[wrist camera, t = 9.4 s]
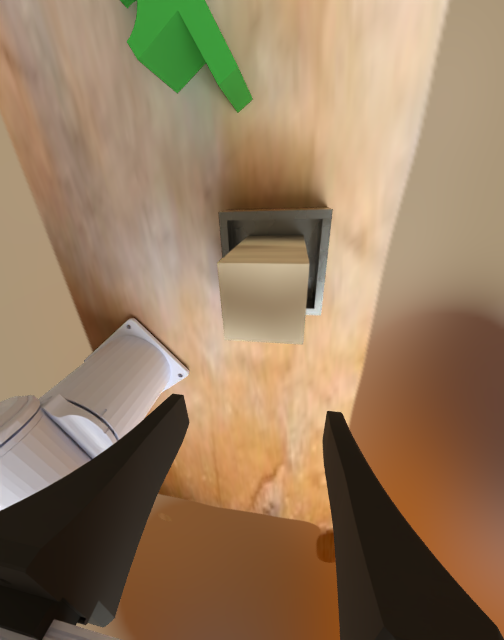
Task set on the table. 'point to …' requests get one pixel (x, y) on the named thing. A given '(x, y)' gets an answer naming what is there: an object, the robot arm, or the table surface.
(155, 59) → the pipe clamp
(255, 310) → the rail post
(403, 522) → the robot arm
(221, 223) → the dark gray open tray
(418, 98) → the table surface
